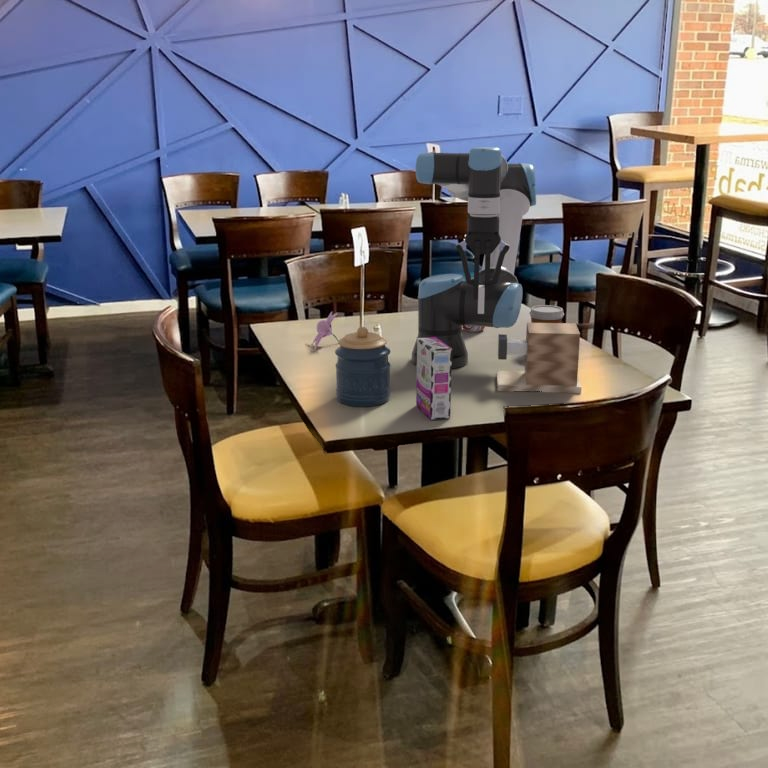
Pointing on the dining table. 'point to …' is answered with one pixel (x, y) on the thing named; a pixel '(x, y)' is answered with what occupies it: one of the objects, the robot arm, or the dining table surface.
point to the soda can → (473, 328)
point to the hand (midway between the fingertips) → (480, 312)
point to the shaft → (511, 347)
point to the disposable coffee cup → (546, 314)
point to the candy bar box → (433, 378)
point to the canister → (362, 369)
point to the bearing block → (547, 361)
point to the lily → (324, 329)
